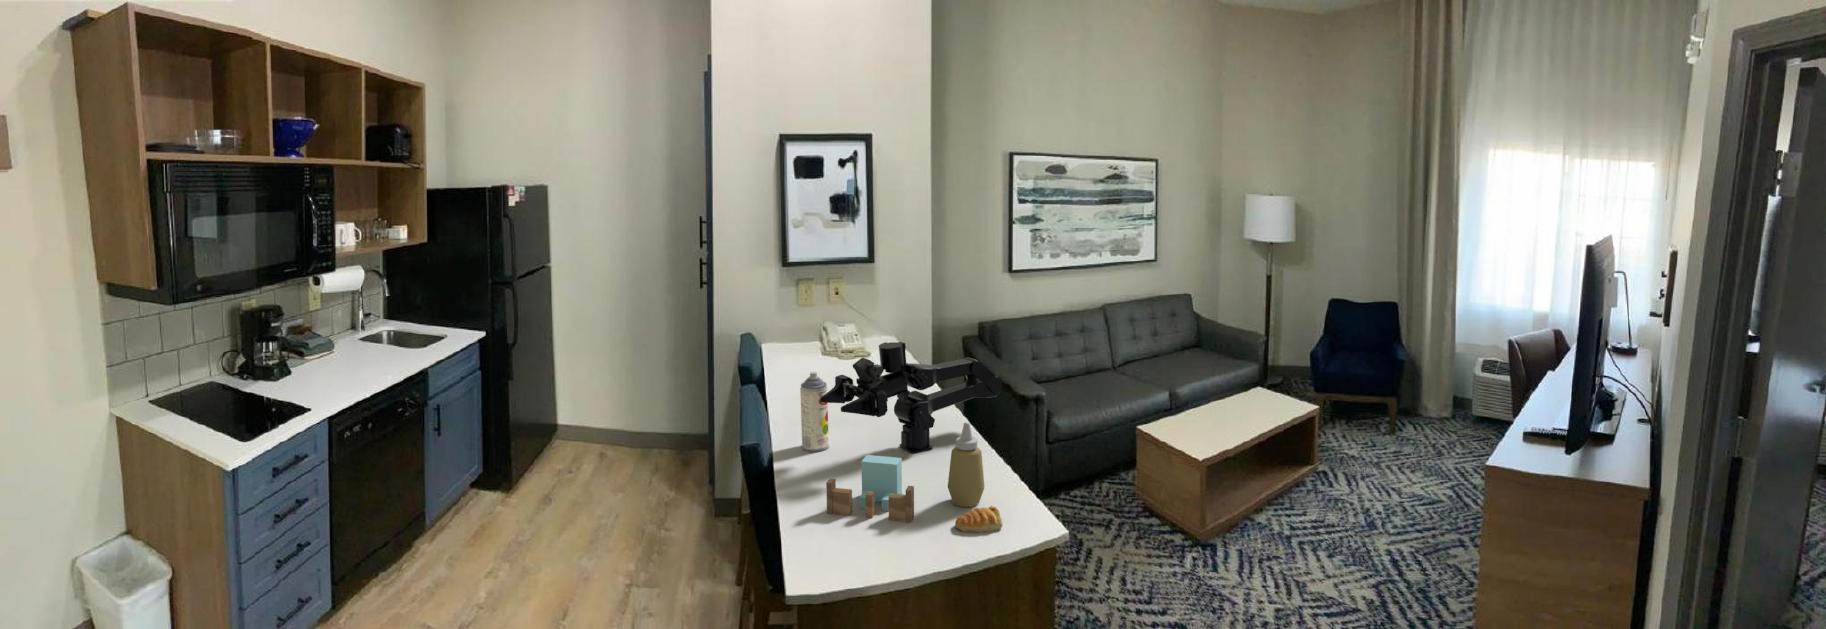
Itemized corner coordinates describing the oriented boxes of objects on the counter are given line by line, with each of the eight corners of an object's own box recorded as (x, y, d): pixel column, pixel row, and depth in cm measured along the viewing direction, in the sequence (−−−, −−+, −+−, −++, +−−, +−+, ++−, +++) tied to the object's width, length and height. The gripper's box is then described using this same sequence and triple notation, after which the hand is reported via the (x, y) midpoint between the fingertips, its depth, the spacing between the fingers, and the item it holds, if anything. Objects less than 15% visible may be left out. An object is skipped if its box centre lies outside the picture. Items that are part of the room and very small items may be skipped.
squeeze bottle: (988, 497, 182) (989, 419, 178) (979, 512, 174) (980, 431, 171) (953, 492, 184) (953, 415, 181) (942, 506, 177) (943, 427, 173)
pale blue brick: (867, 492, 184) (866, 454, 182) (901, 496, 182) (901, 457, 180) (856, 507, 176) (855, 468, 175) (892, 511, 175) (892, 471, 173)
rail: (830, 508, 176) (830, 477, 175) (914, 517, 172) (914, 486, 170) (827, 513, 174) (826, 482, 172) (911, 522, 169) (911, 490, 168)
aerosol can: (824, 452, 208) (822, 376, 204) (798, 451, 210) (796, 375, 206) (831, 443, 215) (829, 369, 211) (806, 441, 216) (804, 368, 212)
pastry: (962, 537, 163) (962, 519, 162) (950, 523, 169) (950, 506, 169) (1005, 530, 166) (1005, 512, 165) (991, 517, 172) (991, 500, 172)
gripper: (860, 348, 208) (806, 364, 199) (904, 363, 193) (848, 381, 184) (864, 390, 210) (812, 407, 202) (908, 407, 196) (853, 427, 187)
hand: (830, 404), depth 194 cm, fingers open, 9 cm apart
